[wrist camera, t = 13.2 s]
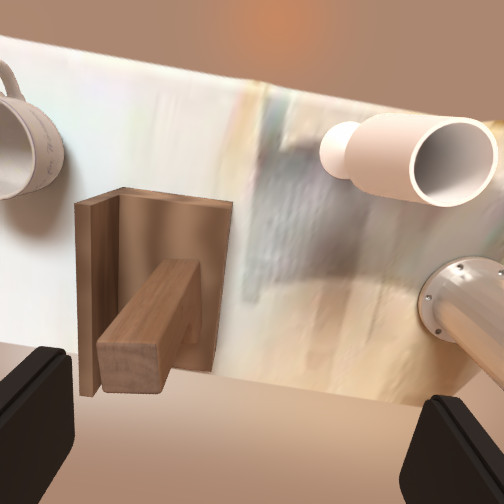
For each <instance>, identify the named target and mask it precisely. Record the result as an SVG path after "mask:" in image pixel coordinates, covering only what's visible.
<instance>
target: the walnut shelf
mask: <svg viewBox="0 0 504 504" xmlns="http://www.w3.org/2000/svg"><path fill="white" fill-rule="evenodd" d="M232 206H233V202H229V201H222V200H214V199H207V198H200V197H192V196H185V195H178V194H170V193H163V192H155V191H148V190H141V189H133V188H126V187H122V188H119V189H116V190H113V191H110V192H107V193H104V194H101V195H98V196H95V197H92V198H89V199H86V200H83V201H80V202H77V203H74V209H75V246H76V283H77V319H78V356H79V393H80V396H87V397H93V396H94V395H95V393H96V392H97V390H98V388H99V387H100V385H101V384H102V383H101V376H100V369H99V362H98V355H97V348H96V343H97V340H98V339H99V338H100V336H101V335H102V334H103V333H104V331H105V330H106V329H107V328H108V327H109V325H110V324H111V323H112V322H113V320H114V319H115V318H116V317H117V315H118V314H119V313H120V312H121V311H122V309H123V308H124V307H125V306H126V304H127V303H128V302H129V301H130V300H131V298H132V297H133V296H134V295H135V293H136V292H137V291H138V290H139V289H140V287H141V286H142V285H143V284H144V282H145V281H146V280H147V279H148V277H149V276H150V275H151V274H152V273H153V271H154V270H155V269H156V268H157V266H158V265H159V264H160V263H161V262H162V260H164V259H190V260H199V262H200V280H201V309H202V326H201V329H200V332H199V336H198V339H197V342H196V343H195V344H180V346H179V349H178V351H177V354H176V356H175V359H174V362H173V364H172V367H179V368H187V369H194V370H202V371H210V372H211V370H212V365H213V360H214V356H215V351H216V343H217V335H218V326H219V317H220V309H221V300H222V292H223V283H224V274H225V266H226V257H227V249H228V240H229V231H230V223H231V214H232Z"/></svg>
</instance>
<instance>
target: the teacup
mask: <svg viewBox="0 0 504 504" xmlns="http://www.w3.org/2000/svg"><path fill="white" fill-rule="evenodd" d="M0 77H1V79H2V81H3V84H4V86H5V89H6V92H7V96H5V95H4V94H3V93H2V92H0V200H5V199H10V198H13V197H15V196H17V195H22V194H26V193H30V192H33V191H36V190H39V189H42V188H44V187H45V186H47V185H49V184H50V183H51V182H52V181H53V180H54V179H55V178H56V177H57V176H58V174H59V172H60V170H61V168H62V165H63V160H64V148H63V142H62V139H61V136H60V134H59V132H58V130H57V128H56V126H55V125H54V123H53V122H52V121H51V119H50V118H49V117H48V116H47V115H46V114H45V113H43V112H42V111H41V110H40V109H38V108H37V107H35V106H33V105H31V104H29V103H27V102H26V101H25V98H24V96H23V95H22V94H21V92H20V89H19V86H18V83H17V81H16V78H15V76H14V74H13V72H12V70H11V69H10V67H9V66H8V65H7V64H6V63H5V62H3V61H2V60H0Z"/></svg>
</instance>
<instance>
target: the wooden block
mask: <svg viewBox="0 0 504 504" xmlns="http://www.w3.org/2000/svg"><path fill="white" fill-rule="evenodd" d="M201 326H202V309H201V280H200V262H199V260H190V259H164V260H162V262H161V263H160V264H159V265H158V266H157V268H156V269H155V270H154V271H153V273H152V274H151V275H150V276H149V277H148V279H147V280H146V281H145V282H144V284H143V285H142V286H141V287H140V289H139V290H138V291H137V292H136V293H135V295H134V296H133V297H132V298H131V300H130V301H129V302H128V303H127V304H126V306H125V307H124V308H123V309H122V311H121V312H120V313H119V314H118V315H117V317H116V318H115V319H114V320H113V322H112V323H111V324H110V325H109V327H108V328H107V329H106V330H105V331H104V333H103V334H102V335H101V336H100V338H99V339H98V340H97V343H96V348H97V355H98V362H99V369H100V376H101V383H102V389H103V391H104V392H106V393H133V394H158V393H161V392H162V389H163V387H164V385H165V382H166V379H167V377H168V374H169V371H170V369H171V367H172V364H173V362H174V359H175V356H176V354H177V351H178V349H179V346H180V344H195V343H196V342H197V339H198V336H199V332H200V329H201Z"/></svg>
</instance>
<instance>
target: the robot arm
mask: <svg viewBox="0 0 504 504" xmlns="http://www.w3.org/2000/svg"><path fill="white" fill-rule="evenodd" d="M418 309H419V315H420V318H421V320H422V322H423V324H424V325H425V327H426V328H427V329H428V330H429V331H430V332H431V333H432V334H433V335H434V336H436V337H437V338H439V339H441V340H443V341H447V342H450V343H457V344H458V345H459V346H460V347H461V348H462V349H463V350H464V351H465V352H466V353H467V354H468V355H469V356H470V357H471V358H472V359H473V360H474V361H475V362H476V363H477V364H478V365H479V366H480V367H481V368H482V369H483V370H484V371H485V372H486V373H487V374H488V375H489V376H490V377H491V378H492V379H493V380H494V381H495V382H496V383H497V384H498V385H499V387H500V388H502V390H503V391H504V266H503V265H501V264H499V263H497V262H495V261H494V260H491V259H488V258H484V257H477V256H475V257H464V258H460V259H456V260H454V261H451V262H449V263H447V264H445V265H444V266H442V267H440V268H439V269H438V270H437V271H435V272H434V273H433V274H432V275H431V276H430V278H429V279H428V280H427V281H426V283H425V285H424V286H423V288H422V290H421V293H420V296H419V302H418ZM74 438H75V428H74V403H73V378H72V359H71V356H69V355H66V352H65V350H64V349H61V348H53V347H45V346H40V347H38V348H36V349H35V350H34V351H33V352H32V353H31V354H30V355H29V356H27V357H26V358H25V359H24V360H23V361H22V362H21V363H20V364H19V365H18V366H17V367H16V368H14V369H13V370H12V371H11V372H10V373H9V374H8V375H7V376H6V377H5V378H4V379H3V380H2V381H0V504H38V503H39V501H40V500H41V498H42V496H43V494H44V493H45V492H46V490H47V488H48V487H49V485H50V483H51V482H52V480H53V478H54V477H55V475H56V474H57V472H58V470H59V469H60V467H61V465H62V464H63V462H64V460H65V459H66V457H67V455H68V454H69V452H70V450H71V448H72V446H73V442H74ZM399 484H400V489H401V492H402V495H403V497H404V500H405V502H406V504H504V454H503V453H502V452H501V450H500V449H499V448H498V446H497V445H496V444H495V443H494V441H493V440H492V439H491V437H490V436H489V435H488V434H487V432H486V431H485V430H484V429H483V427H482V426H481V425H480V423H479V422H478V421H477V419H476V418H475V417H474V416H473V414H472V413H471V412H470V410H469V409H468V408H467V407H466V405H465V404H464V403H463V401H462V400H461V399H460V398H457V397H451V396H443V395H433V396H432V397H431V399H430V400H426V401H425V403H424V405H423V408H422V411H421V414H420V417H419V420H418V423H417V426H416V429H415V431H414V434H413V437H412V440H411V443H410V446H409V449H408V452H407V455H406V458H405V460H404V463H403V466H402V469H401V472H400V476H399Z"/></svg>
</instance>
